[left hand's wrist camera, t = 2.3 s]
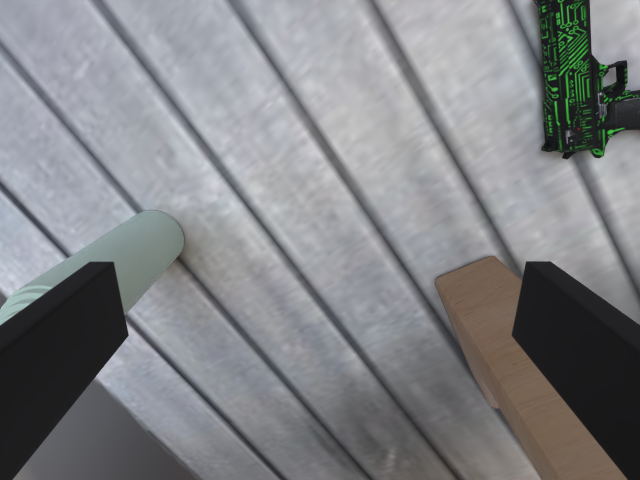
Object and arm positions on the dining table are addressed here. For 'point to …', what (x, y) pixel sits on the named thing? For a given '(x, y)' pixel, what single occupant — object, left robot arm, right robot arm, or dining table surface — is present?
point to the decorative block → (517, 374)
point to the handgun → (580, 84)
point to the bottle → (115, 260)
